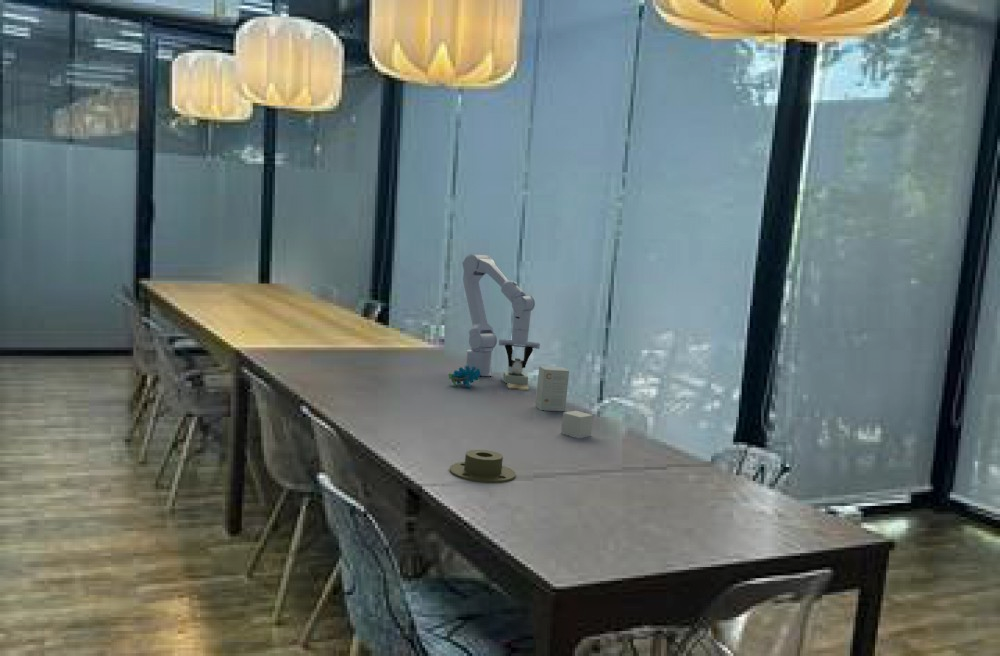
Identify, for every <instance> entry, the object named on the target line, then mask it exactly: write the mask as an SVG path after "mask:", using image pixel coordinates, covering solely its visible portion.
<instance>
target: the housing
mask: <svg viewBox="0 0 1000 656" xmlns="http://www.w3.org/2000/svg"><path fill="white" fill-rule="evenodd" d="M502 375H503V376H502V380H503V379H504V381H503V383H504V382H505V383H510V384H521V385H527V386H528V382H529V381H528V380H529V377H528V374H527V373H525V372H522V376H514V375H510V371H503V374H502ZM505 383H504V384H505Z"/></svg>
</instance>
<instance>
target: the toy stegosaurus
mask: <svg viewBox="0 0 1000 656" xmlns="http://www.w3.org/2000/svg"><path fill="white" fill-rule="evenodd" d="M465 368H466V370H465V369H464V368H463V367H459V368H458V370H454V371H453V373H449V374H448V379H449V380H451V382H452V384H453V387H454V388H456V387H457V384H458V385H460V384H461V383H463V385H466V388H467V389H470V388H471V386H470V385H471V384H473V383H474V380H475V381H478V380H479V377H482V376H481V374H480V369H476V367H472V370H470V368H469V366H466V367H465ZM475 370H476V371H475Z"/></svg>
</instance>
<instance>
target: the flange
mask: <svg viewBox="0 0 1000 656" xmlns="http://www.w3.org/2000/svg"><path fill="white" fill-rule="evenodd" d="M503 458H504V455H503V454H502V453H500V452H498V451H493V450H489V449H488V450H487V449H471V450H470V449H469V450H467V451H466V452H465V458H464V461H460V462H456V463H453V464H452V465H450V467H449V473H450V474H451V475H453V476H454V477H457V478H459V479H462V480H465V481H470V482H475V483H482V484H483V483H484V484H500V483H502V484H503V483H509V482H512V481H514V480H515V479H516V475H517V473H516V472H515V470H513V469H512V468H510V467H508V466H505V465H503V460H504V459H503Z"/></svg>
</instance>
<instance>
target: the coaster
mask: <svg viewBox="0 0 1000 656" xmlns="http://www.w3.org/2000/svg"><path fill="white" fill-rule="evenodd" d="M506 386H508V387H507V389H508V388H509V389H508V390H517V389H518V391H519V390H520V391H530V388H529V386H528V384H527V385H521V384H509V383H507V384H506Z"/></svg>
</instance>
